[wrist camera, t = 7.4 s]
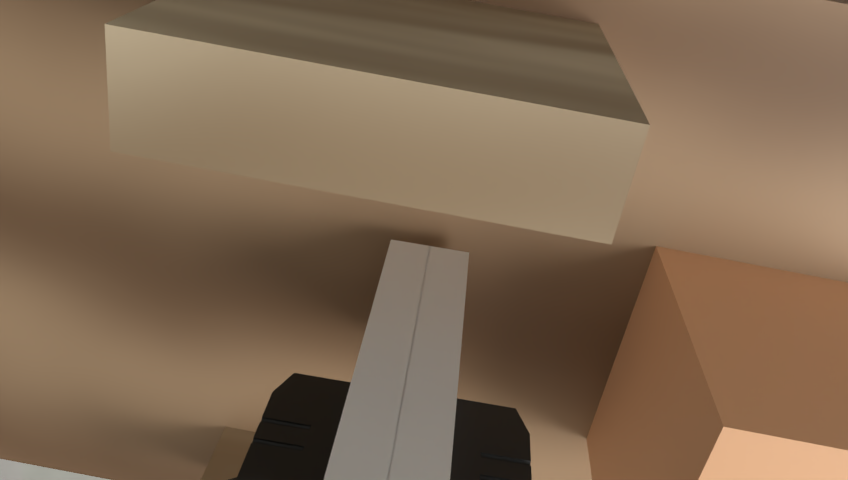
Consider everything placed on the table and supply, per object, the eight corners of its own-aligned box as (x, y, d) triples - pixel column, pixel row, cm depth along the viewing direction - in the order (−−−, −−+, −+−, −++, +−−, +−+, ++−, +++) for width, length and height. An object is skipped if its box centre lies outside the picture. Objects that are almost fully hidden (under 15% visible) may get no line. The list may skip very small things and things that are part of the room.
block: (656, 246, 14) (723, 427, 10) (914, 295, 14) (1097, 498, 10) (586, 438, 17) (615, 653, 12) (807, 480, 17) (916, 711, 12)
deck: (-32, -176, 15) (-522, -190, 8) (1383, 84, 14) (2210, 314, 7) (34, 377, 21) (-195, 639, 14) (1001, 559, 21) (1247, 916, 14)
